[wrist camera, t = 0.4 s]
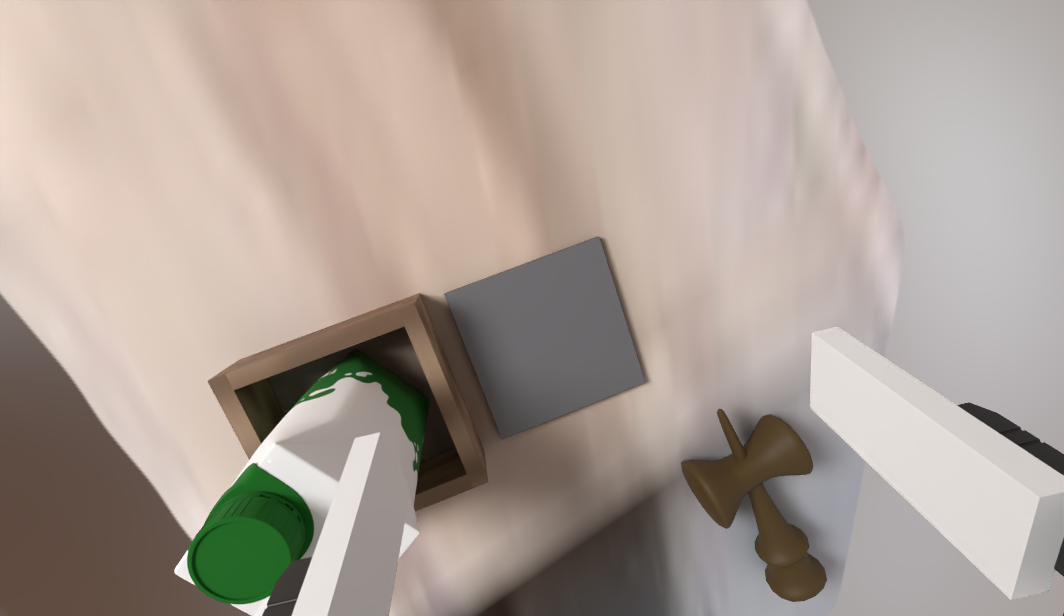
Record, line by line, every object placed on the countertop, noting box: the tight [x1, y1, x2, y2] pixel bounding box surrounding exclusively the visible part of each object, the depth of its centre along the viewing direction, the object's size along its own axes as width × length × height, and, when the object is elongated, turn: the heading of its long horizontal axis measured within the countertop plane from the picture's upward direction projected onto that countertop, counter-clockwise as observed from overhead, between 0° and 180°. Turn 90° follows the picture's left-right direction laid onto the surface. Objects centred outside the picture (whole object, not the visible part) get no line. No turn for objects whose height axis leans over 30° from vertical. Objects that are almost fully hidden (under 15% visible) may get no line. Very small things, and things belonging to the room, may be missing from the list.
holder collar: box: [208, 293, 488, 511], centre depth 38 cm, size 14×14×5 cm
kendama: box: [681, 409, 827, 602], centre depth 44 cm, size 6×10×20 cm
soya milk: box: [175, 349, 430, 616], centre depth 31 cm, size 9×9×20 cm
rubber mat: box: [445, 237, 645, 439], centre depth 41 cm, size 13×13×1 cm
